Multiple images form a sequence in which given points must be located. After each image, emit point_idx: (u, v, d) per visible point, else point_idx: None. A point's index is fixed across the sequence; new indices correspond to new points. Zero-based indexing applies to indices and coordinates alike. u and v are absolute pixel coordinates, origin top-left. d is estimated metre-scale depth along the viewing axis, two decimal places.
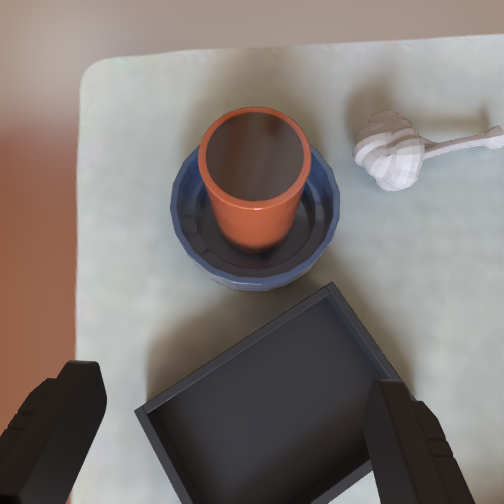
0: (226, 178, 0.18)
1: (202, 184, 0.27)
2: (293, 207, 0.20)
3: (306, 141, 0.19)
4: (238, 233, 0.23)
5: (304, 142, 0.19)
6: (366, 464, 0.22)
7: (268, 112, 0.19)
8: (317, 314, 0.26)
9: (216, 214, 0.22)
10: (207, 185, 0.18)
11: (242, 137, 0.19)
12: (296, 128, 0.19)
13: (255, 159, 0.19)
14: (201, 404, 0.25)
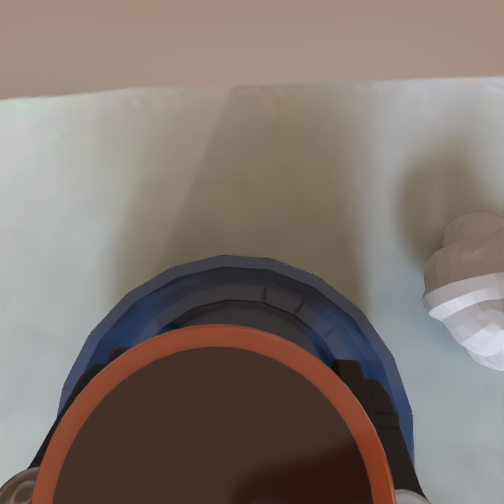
0: None
1: None
2: None
3: (380, 457, 0.06)
4: None
5: (374, 462, 0.06)
6: None
7: (260, 347, 0.06)
8: None
9: None
10: None
11: (176, 440, 0.06)
12: (347, 407, 0.06)
13: None
14: None
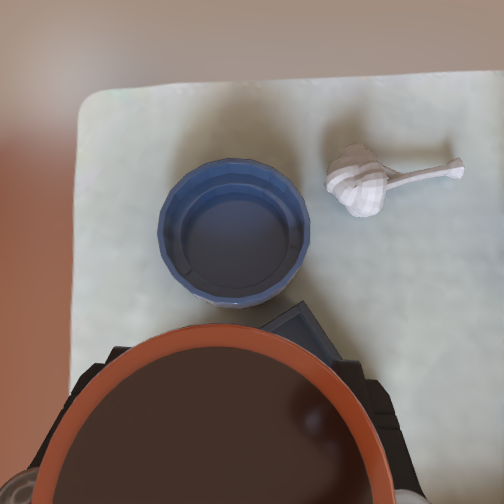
0: None
1: (187, 210, 0.29)
2: None
3: (380, 457, 0.06)
4: None
5: (374, 462, 0.06)
6: None
7: (260, 347, 0.06)
8: (290, 329, 0.29)
9: None
10: None
11: (176, 440, 0.06)
12: (347, 407, 0.06)
13: None
14: None
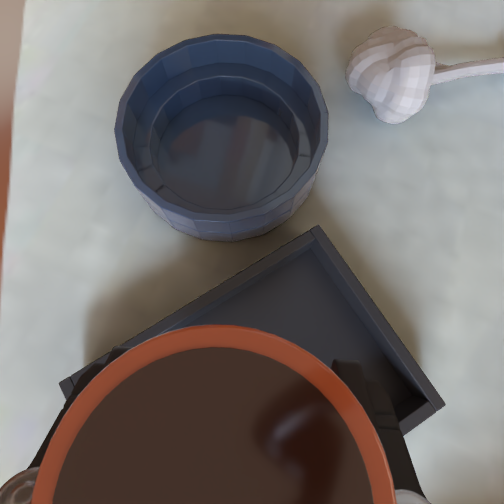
0: None
1: (160, 109, 0.22)
2: None
3: (380, 458, 0.06)
4: None
5: (374, 463, 0.06)
6: None
7: (260, 347, 0.06)
8: (300, 269, 0.21)
9: None
10: None
11: (176, 440, 0.06)
12: (347, 408, 0.06)
13: None
14: None
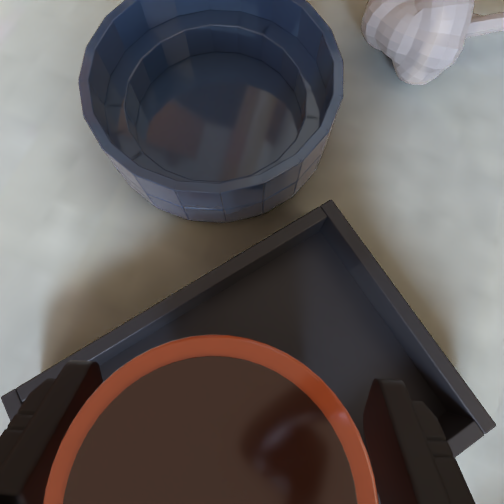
0: None
1: (139, 63, 0.18)
2: None
3: (364, 458, 0.06)
4: None
5: (358, 462, 0.06)
6: None
7: (254, 356, 0.07)
8: (307, 256, 0.17)
9: None
10: None
11: (177, 442, 0.06)
12: (334, 412, 0.07)
13: None
14: None
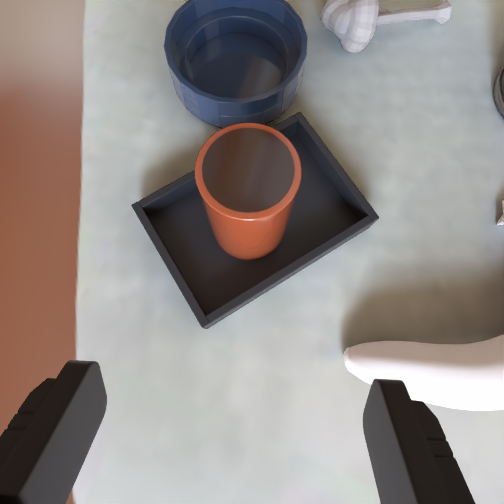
0: (221, 190, 0.19)
1: (192, 38, 0.31)
2: (284, 217, 0.21)
3: (297, 156, 0.20)
4: (232, 240, 0.24)
5: (295, 157, 0.20)
6: (323, 244, 0.27)
7: (262, 128, 0.20)
8: None
9: (211, 222, 0.23)
10: (203, 196, 0.19)
11: (237, 151, 0.20)
12: (288, 144, 0.20)
13: (249, 172, 0.20)
14: (188, 213, 0.29)
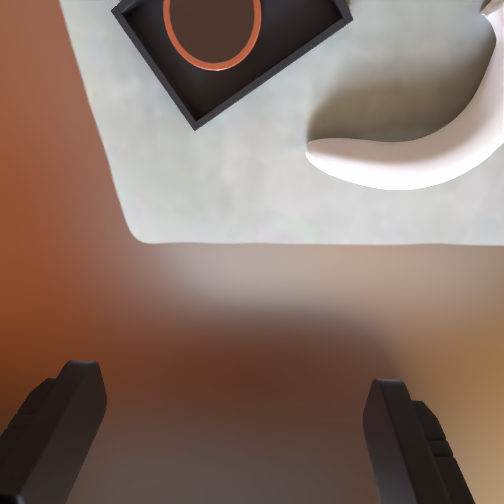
0: (190, 40, 0.22)
1: None
2: (250, 52, 0.24)
3: None
4: None
5: None
6: (295, 52, 0.29)
7: None
8: None
9: None
10: (175, 47, 0.22)
11: None
12: None
13: (213, 19, 0.22)
14: None
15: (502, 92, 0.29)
